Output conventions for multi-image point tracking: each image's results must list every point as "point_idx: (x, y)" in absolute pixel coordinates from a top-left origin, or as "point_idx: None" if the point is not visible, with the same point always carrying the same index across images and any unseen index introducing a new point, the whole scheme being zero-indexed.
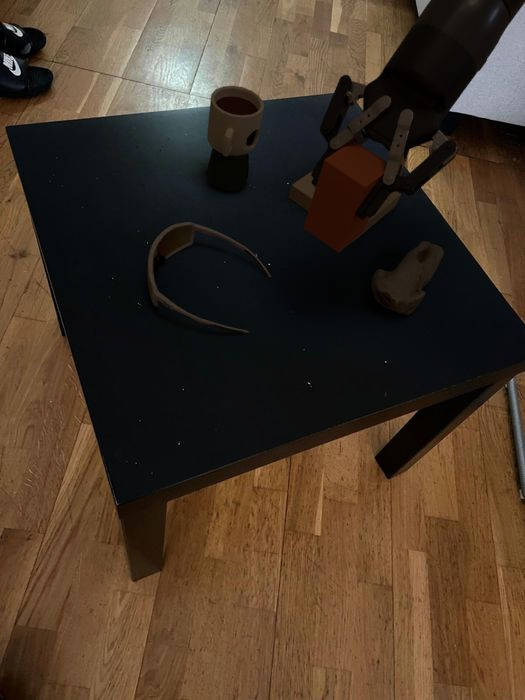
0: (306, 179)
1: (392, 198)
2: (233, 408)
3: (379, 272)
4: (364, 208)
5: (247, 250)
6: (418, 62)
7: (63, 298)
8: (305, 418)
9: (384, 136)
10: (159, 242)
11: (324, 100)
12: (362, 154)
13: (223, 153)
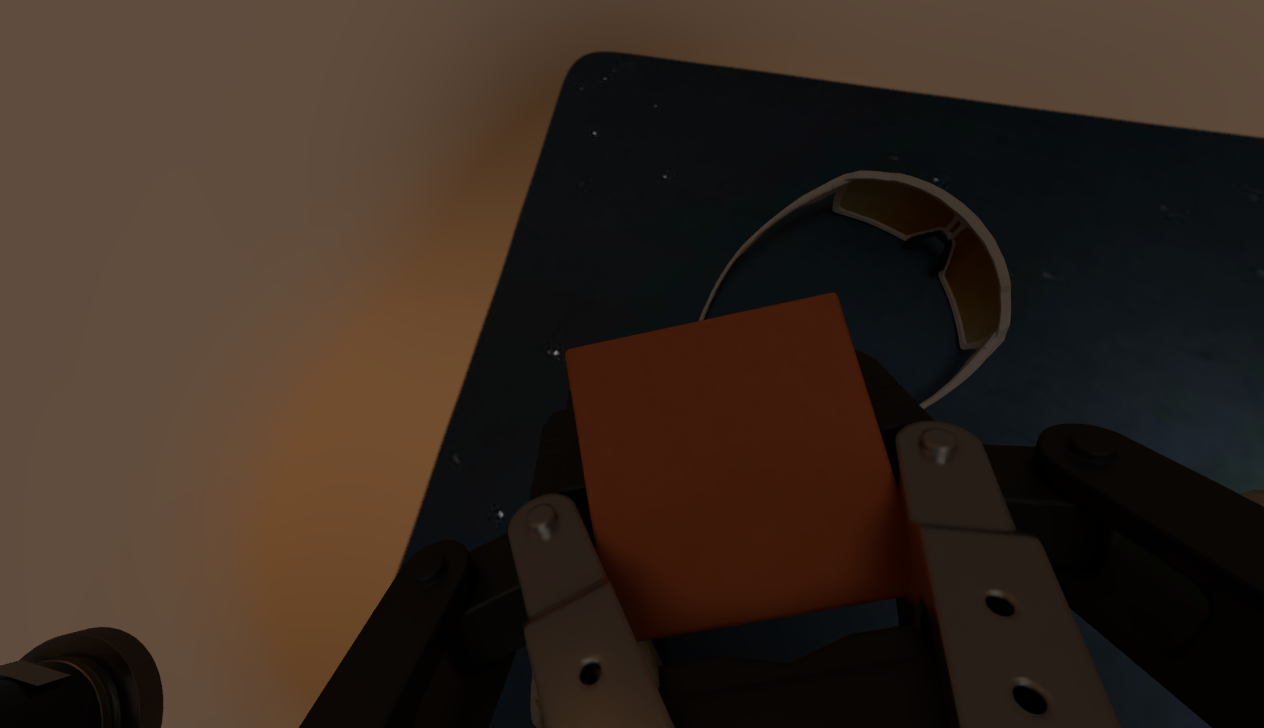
0: None
1: None
2: (593, 222)
3: (645, 661)
4: (571, 402)
5: None
6: None
7: (926, 96)
8: (512, 306)
9: (759, 692)
10: (972, 240)
11: None
12: (782, 537)
13: (1250, 491)
